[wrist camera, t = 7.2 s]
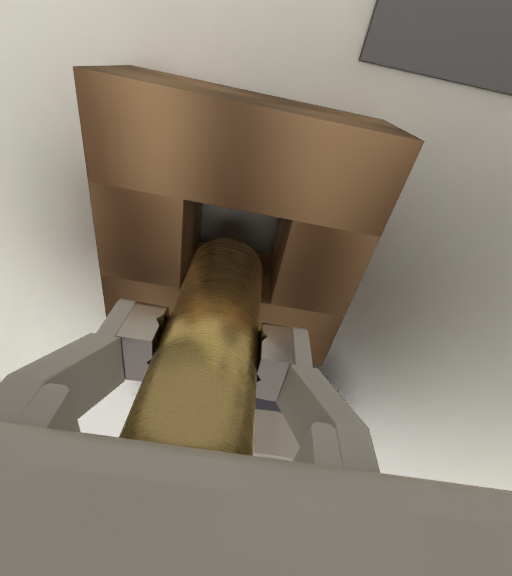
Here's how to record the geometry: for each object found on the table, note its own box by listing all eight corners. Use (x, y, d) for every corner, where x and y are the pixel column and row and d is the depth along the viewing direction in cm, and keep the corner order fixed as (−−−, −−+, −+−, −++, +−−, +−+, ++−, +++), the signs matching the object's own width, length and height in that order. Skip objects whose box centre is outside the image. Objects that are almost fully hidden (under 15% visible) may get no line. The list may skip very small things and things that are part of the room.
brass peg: (268, 245, 13) (261, 568, 5) (255, 302, 14) (232, 611, 6) (194, 231, 12) (48, 543, 4) (190, 291, 14) (79, 594, 6)
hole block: (383, 120, 15) (424, 141, 11) (312, 309, 22) (321, 365, 18) (130, 65, 14) (72, 66, 10) (139, 279, 21) (108, 331, 17)
